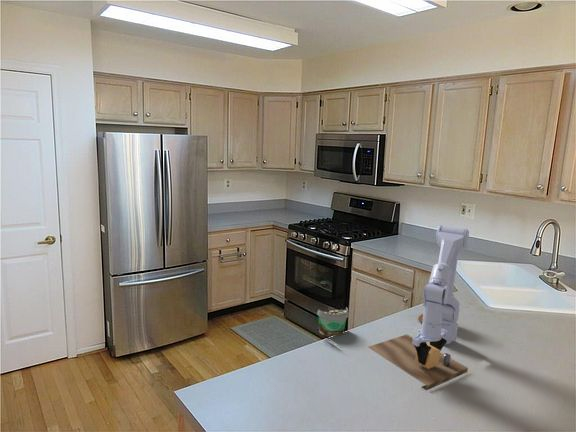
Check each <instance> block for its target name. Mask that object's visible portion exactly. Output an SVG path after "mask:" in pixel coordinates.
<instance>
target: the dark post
mask: <svg viewBox="0 0 576 432" xmlns="http://www.w3.org/2000/svg"><path fill="white" fill-rule="evenodd" d="M443 354H444V358H443V365H444V366H446V367H448V366H449V365H450V358H451V354H449V353H443Z"/></svg>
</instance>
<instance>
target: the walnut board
mask: <svg viewBox="0 0 576 432" xmlns="http://www.w3.org/2000/svg"><path fill="white" fill-rule="evenodd" d="M413 338H414V336H413V337H412V336H410V335H409V334H403V335H400V336H397V337H394V338H391V339H388V340H385V341H382V342H378V343H376V344H373V345H368V346H367V348H369V349H370V350H371V351H373V352H374V353H377V354H378V355H379V356H381V357H382V358H384V359H385V360H387V361H389V362H390V363H391V364H393V365H395V366H396V367H397V368H398V369H401V370H402V371H404V372H405V373H406V374H409V375H410V376H411V377H413V378H414V379H416V380H417V381H419V382H421V383H422V384H423V386H421V388H422V389H424V390H425V391H428V390H430V389H432V388H435V387H437V386H439V385H441V384H444V383H447V382H448V381H450V380H452V379H455V378H457V377H459V376H462V375H463V374H466V373H468V370H469V367H468V366H465V365H463V364H461V362H458V361H457V360H454V359H453V358H451V357H450V365H449V366H448V367H446V366H444V365H443V358H444V354H445V353H442V352H440V357H439V365H437V366H434V367H432V368H430V369H425V368H424V367H423V366H422V365H421V364H419V363H417V362H416V361H415V359H416V348H415V346H414V345H413V344H412V340H413Z"/></svg>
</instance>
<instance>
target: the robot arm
mask: <svg viewBox="0 0 576 432" xmlns="http://www.w3.org/2000/svg"><path fill="white" fill-rule="evenodd" d="M469 236H470V231H469V229H468V228H460V227H453V226H445V225H442V224H441V225H439V226H438V227H437V229H436V235H435V241H436V243H437V246H438V247H439V248H440V251H439V256H438V262H437V263H435V264H433V266H432V270H431V272H430V276H429V280H428V283H426V284H425V286H424V288H423V296H422V297H423V298H422V299H423V305H422V306H423V307H424V308H423V312H422V314H423V322H421V328H419V329H418V332H419V333H417V335H416V336H415V337H414V336H413V340H412V344H413V345H414V346H415V348H416V351H417V355H418V362H419V363H421V364H422V365H425V363H426V360H427V356H428V353H429V351H430V349H431V347H430V346H428V345H427V344H426V343H429V344H430V345H431V346H433V347H435V348H437V349H439V350H440V352H441V351H442V350H443V348H444V346H445V345H449V344H451V343H452V342H457V336H458V329H459V327H458V324H457V322H458V319H459V315H460V301H459V300H458V299H457V298H456V297H455V296H454V294H453V292H454V288H455V287H454V286H455V279H456V272H457V266H458V265H457V264H458V259H459V255H460V253H461V252H465V251H466V250H467V247H468V242H469V238H470V237H469ZM452 294H453V295H452Z"/></svg>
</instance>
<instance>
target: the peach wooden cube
mask: <svg viewBox="0 0 576 432" xmlns="http://www.w3.org/2000/svg"><path fill="white" fill-rule="evenodd" d="M426 344H427V345H428V346H430V347H431V349H430V351H429V353H428V356H427V360H426V363H425V365H422V364H421V363H419V362H418V355H417V351H416V359H415V361H416V362H417V363H419V364H421V365H422V366H424V367H426V368H427V369H429V368H432V367H434V366H437V365H439V357H440V353H441V351H440V350H439V349H437V348H435V347H433V346H431V345H430V343H429V342H426Z"/></svg>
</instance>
